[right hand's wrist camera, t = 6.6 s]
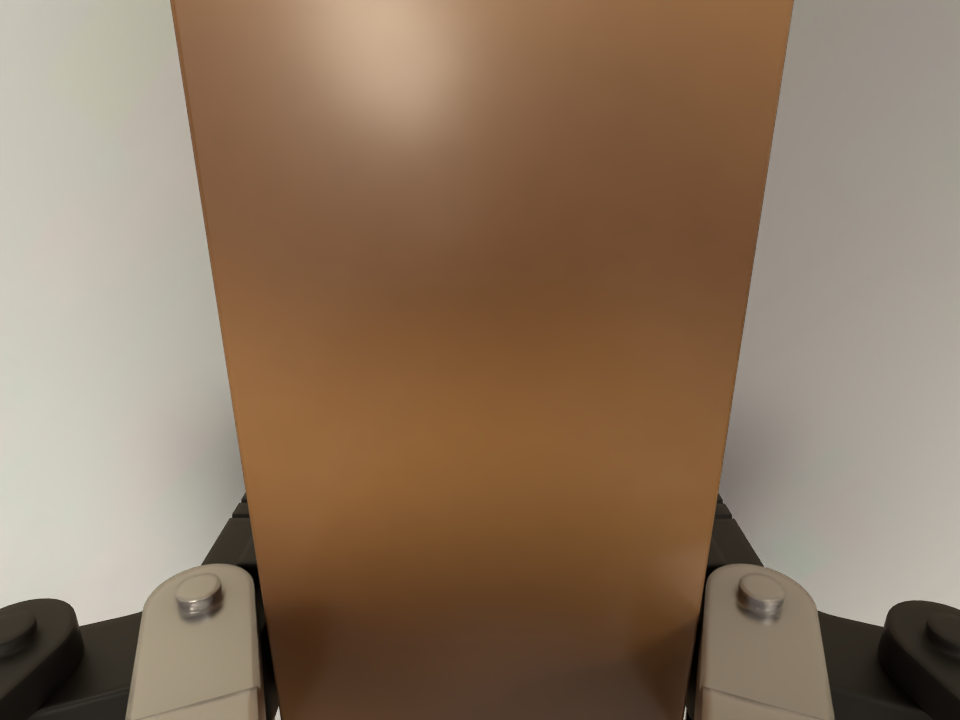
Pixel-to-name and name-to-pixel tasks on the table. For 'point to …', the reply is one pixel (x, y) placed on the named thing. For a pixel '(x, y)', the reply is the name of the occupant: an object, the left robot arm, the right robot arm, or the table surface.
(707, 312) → the beam
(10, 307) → the table surface
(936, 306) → the table surface
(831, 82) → the table surface
